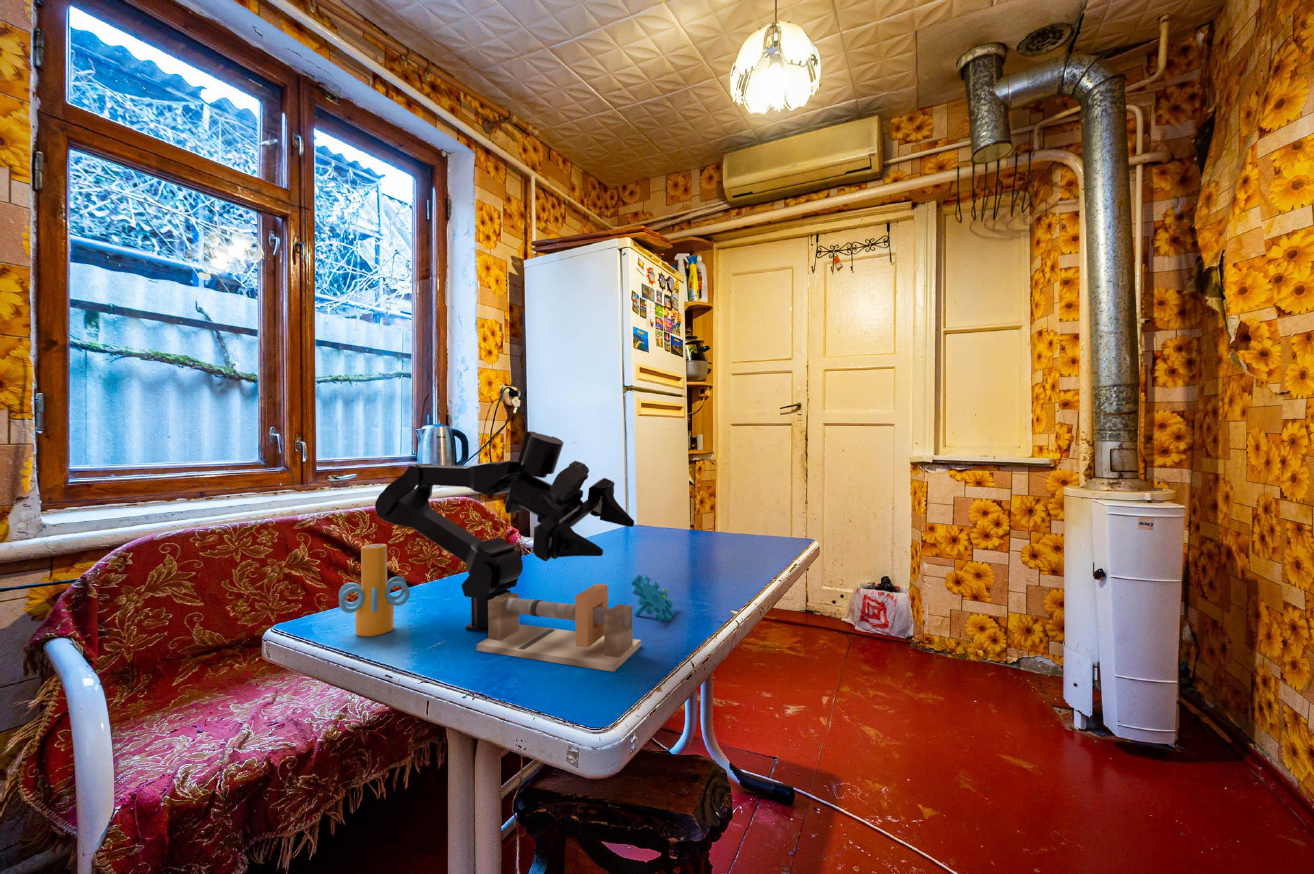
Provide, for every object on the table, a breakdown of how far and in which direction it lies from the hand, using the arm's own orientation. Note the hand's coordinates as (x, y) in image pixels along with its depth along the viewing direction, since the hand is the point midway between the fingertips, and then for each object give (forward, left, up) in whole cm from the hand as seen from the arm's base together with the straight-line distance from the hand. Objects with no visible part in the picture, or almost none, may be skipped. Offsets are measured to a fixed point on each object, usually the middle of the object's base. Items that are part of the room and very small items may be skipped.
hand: (618, 538), depth 86 cm
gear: (0, +15, -18) cm, 23 cm away
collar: (-3, -4, -15) cm, 16 cm away
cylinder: (-44, -8, -18) cm, 48 cm away
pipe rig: (-9, -4, -17) cm, 20 cm away
